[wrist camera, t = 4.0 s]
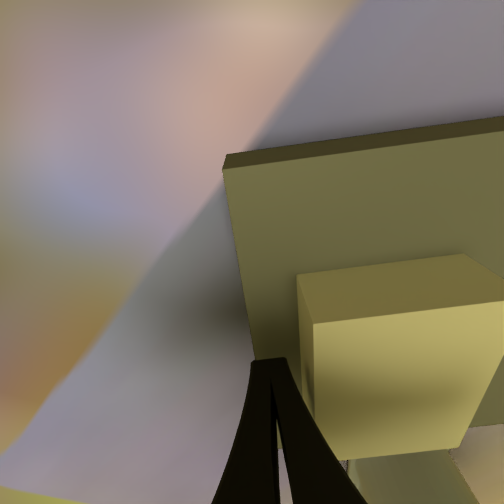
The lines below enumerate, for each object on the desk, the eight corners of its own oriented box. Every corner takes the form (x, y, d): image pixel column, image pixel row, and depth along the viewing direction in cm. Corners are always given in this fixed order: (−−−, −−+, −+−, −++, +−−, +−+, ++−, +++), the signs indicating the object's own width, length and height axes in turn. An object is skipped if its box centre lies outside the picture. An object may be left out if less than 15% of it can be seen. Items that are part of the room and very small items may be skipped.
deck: (473, 375, 18) (514, 422, 15) (266, 399, 18) (271, 449, 15) (591, 104, 10) (717, 101, 7) (226, 154, 10) (222, 169, 8)
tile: (422, 391, 13) (458, 447, 11) (303, 405, 13) (315, 463, 11) (463, 253, 9) (531, 297, 7) (296, 274, 10) (313, 324, 7)
